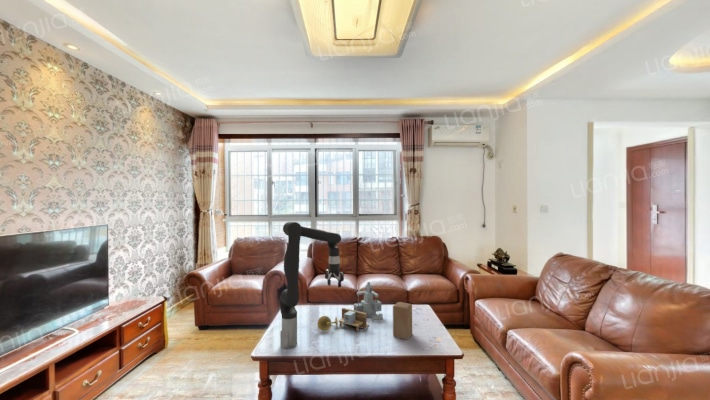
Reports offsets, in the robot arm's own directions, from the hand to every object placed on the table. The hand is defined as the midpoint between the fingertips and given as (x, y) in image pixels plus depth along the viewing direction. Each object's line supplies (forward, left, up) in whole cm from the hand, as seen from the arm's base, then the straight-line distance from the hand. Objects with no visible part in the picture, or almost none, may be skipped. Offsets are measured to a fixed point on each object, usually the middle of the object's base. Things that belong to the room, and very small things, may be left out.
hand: (334, 286), depth 194 cm
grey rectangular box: (+10, -6, -26) cm, 28 cm away
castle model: (+33, -6, -30) cm, 45 cm away
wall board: (+13, -6, -30) cm, 33 cm away
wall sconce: (+6, +12, -30) cm, 32 cm away
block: (+18, -42, -30) cm, 55 cm away
